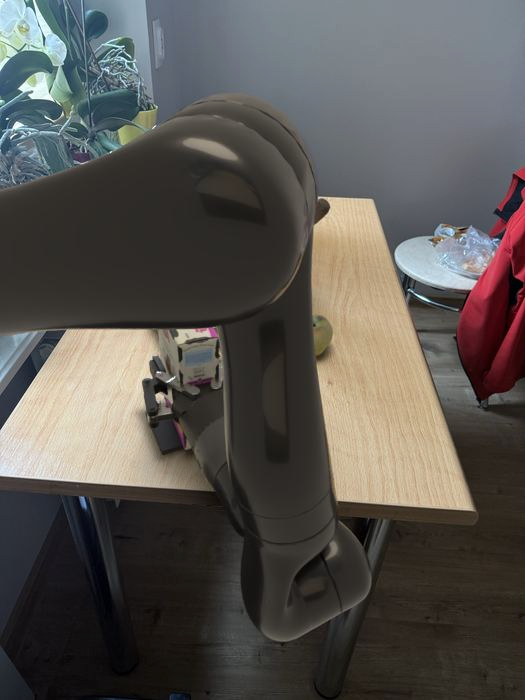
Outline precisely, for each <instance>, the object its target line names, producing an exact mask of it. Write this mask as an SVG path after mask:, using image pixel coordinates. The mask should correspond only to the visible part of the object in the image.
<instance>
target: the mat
mask: <svg viewBox="0 0 525 700" xmlns="http://www.w3.org/2000/svg"><path fill="white" fill-rule="evenodd" d="M164 406H165V407H167V408H168V406H167V405H164ZM144 412H145V413H144V414H145V417H146V419H147V420H148V418H147V413H146V411H144ZM159 423H160V425H159V426H158V427H157V428H150V429H151V431H152V433H153V436H154V438H155V441H156V443H157V446H158V449H159V451H160V453H161V455H166V454H168V453H171V452H175V451H179V450H181V449H184V447H183V444H182V442H181V439H180V437H179V434H178V432H177V429H176V426H175V424H174V421H173V419H171V420H165V421H159Z"/></svg>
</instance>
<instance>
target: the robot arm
mask: <svg viewBox="0 0 525 700" xmlns="http://www.w3.org/2000/svg"><path fill="white" fill-rule="evenodd" d="M318 199H319V177H318V171H317V166H316V162H315V159H314V157H313V153H312V151H311V148H310V146H309V143H308V142H307V140H306V138H305V137H304V135H303V133H302V132H301V130H300V129H299V127H298V126H297V125H296V124H295V123H294V122H293V121H292V119H290V117H288V115H287V113H285V112H283V110H281V109H280V108H278V107H277V106H276V105H274V104H272V103H271V102H269V101H266V100H264V99H262V98H260V97H257V96H255V95H251V94H245V93H239V92H223V93H222V92H221V93H220V92H219V93H215V94H211V95H208V96H205V97H202V98H199V99H198V100H195V101H193V102H192V103H190V104H188V105H187V106H185V107H184V108H181V109H179V110H178V111H177V112H175V113H174V114H172V115H171V116H169V117H168V118H166V119H164V120H163V121H161V122H160V123H158V124H156V125H155V126H153V127H152V128H150V129H149V130H147V131H145V132H143V133H142V134H140V135H139V136H137V137H136V138H134V139H132V140H131V141H129V142H127V143H125V144H123V145H121V146H120V147H117V148H115V149H114V150H112V151H109V152H107V153H104V154H102V155H100V156H97V157H95V158H92V159H90V160H87V161H85V162H82V163H80V164H77V165H74V166H72V167H69V168H66V169H64V170H61V171H58V172H55V173H51V174H49V175H45V176H42V177H39V178H36V179H33V180H30V181H26V182H24V183H23V182H22V183H20V184H17V185H13V186H10V187H9V186H8V187H4V188H0V338H1V337H9V336H15V335H21V334H22V335H23V334H29V333H37V332H46V331H47V332H49V331H73V330H75V331H76V330H80V331H81V330H82V331H83V330H86V331H87V330H90V331H91V330H92V331H93V330H95V331H96V330H97V331H98V330H100V331H101V330H103V331H104V330H105V331H106V330H108V331H109V330H110V331H113V330H114V331H115V330H117V331H121V330H122V331H125V330H126V331H132V330H133V331H141V330H142V331H156V330H177V329H201V328H212V327H213V328H215V327H217V332H218V337H219V344H220V347H219V351H220V354H219V376H218V377H212V380H211V382H209V383H205V384H200V385H196V386H194V385H190V384H188V383H186V384H181V383H180V381H179V379H178V378H177V376H175V377H174V378H173V377H172V376H170V375H168V374H167V373H166V369H165V367H164V365H163V363H162V361H161V358H160V354H154V355H152V356H151V357H152V358H151V359H150V360H149V361H148V364H149V373H150V375H151V378H150V377H145V378H143V379H142V380H141V385H142V392H143V400H144V406H145V412H146V413H147V417H146V419H147V418H148V419H147V424H148V427H149V428H150V429H151V428H157V427H158V426H159V425H160V423H159V421H165V420H171V419H173V420H174V421H175V422H176V423H178V424H179V425H180V426H181V427H182V429H183V432H184V434H185V436H186V438H187V440H188V442H189V444H190V446H191V448H192V449H191V450H192V452H193V455H194V457H195V459H196V463H197V465H198V467H199V469H200V470H201V471H202V473H203V475H204V477H205V479H206V480H207V482H208V483H209V484H210V486H211V487H212V489H213V490H214V492H215V494H216V496H217V498H218V500H219V502H220V504H221V506H222V509H223V510H224V513H225V515H226V518H227V520H228V521H229V524H230V525H231V528H232V529H233V531H235V532H236V534H237V535H238V536H240V537H242V538H243V544H242V552H241V560H240V575H239V576H240V590H241V595H242V596H241V597H242V601H243V605H244V609H245V611H246V613H247V616H248V618H249V620H250V621H251V623H252V625H253V626H254V628H255V629H256V630H257V631H258V632H259V633H260V634H261V635H263V636H264V637H266V638H267V639H270V640H272V641H275V642H290V641H293V640H296V639H298V638H300V637H302V636H303V635H305V634H307V633H309V632H311V631H312V630H314V629H316V628H318V627H320V626H321V625H323V624H324V623H326V622H328V621H330V620H332V619H333V618H335V617H337V616H339V615H340V614H342V613H344V612H346V611H349V610H350V609H352V608H354V607H355V606H357V605H358V604H360V603H361V602H362V601H363V600H365V599H366V598H367V597H368V595H369V594H370V591H371V587H372V581H373V573H372V565H371V562H370V559H369V556H368V554H367V552H366V550H365V548H364V546H363V545H362V543H361V542H360V541H359V539H358V538H357V536H356V535H355V534H354V533H353V532H352V531H351V530H350V529H349V528H348V527H347V526H346V525H345V524H344V523H343V522H342V521H340V519H339V518H340V517H339V516H340V512H339V504H338V503H339V502H338V496H337V490H336V482H335V475H334V470H333V463H332V457H331V456H332V455H331V449H330V444H329V438H328V432H327V426H326V425H327V424H326V420H325V412H324V407H323V406H324V405H323V401H322V393H321V387H320V386H321V385H320V380H319V373H318V371H319V370H318V364H317V363H318V362H317V356H316V354H315V343H314V330H313V315H314V313H313V311H314V310H313V287H312V285H313V283H312V277H313V275H312V274H313V248H314V232H315V231H314V229H315V225H314V220H315V215H316V210H317V204H318ZM158 394H159V395H161V396H163V397H164V396H165V397H166V398H168V400H169V402H170V403H171V404H172V406H171V408H167V407H165V406H166V405H165V404H164V402H163V403H162V401H161V399H160V400H158V399H157V396H156V395H158Z"/></svg>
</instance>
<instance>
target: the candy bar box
mask: <svg viewBox="0 0 525 700" xmlns="http://www.w3.org/2000/svg"><path fill="white" fill-rule="evenodd" d="M214 328H215V327H212V328H201V329H177V330H158V333H157V334H158V343H159V344H158V346H159V357H160V359H161V361H162V363H163V365H164V367H165V369H166V373H167V374H168V375H170V376H172V377H173V378H174V377H175V376H177V378H178V379H179V381H180V383H181V384H186V383H188V384H190V385H194V386H196V385H200V384H205V383H209V382H211V380H212V377H218V376H219V355H220V347H219V337H218V335H217V333H216V332H215V330H214ZM163 398H164V401H165V404H166V406H168V408H171V406H172V404H171V403H170V402H169V400H168V398H166V397H165V396H163ZM173 421H174V420H173ZM174 424H175V426H176V429H177V432H178V434H179V437H180V439H181V442H182V444H183V447H184V448H183V450H184V451H189V450H192V448H191V446H190V444H189V442H188V440H187V438H186V436H185V434H184V432H183V429H182V427H181V426H180V425H179V424H178V423H176V422H175V421H174Z"/></svg>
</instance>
